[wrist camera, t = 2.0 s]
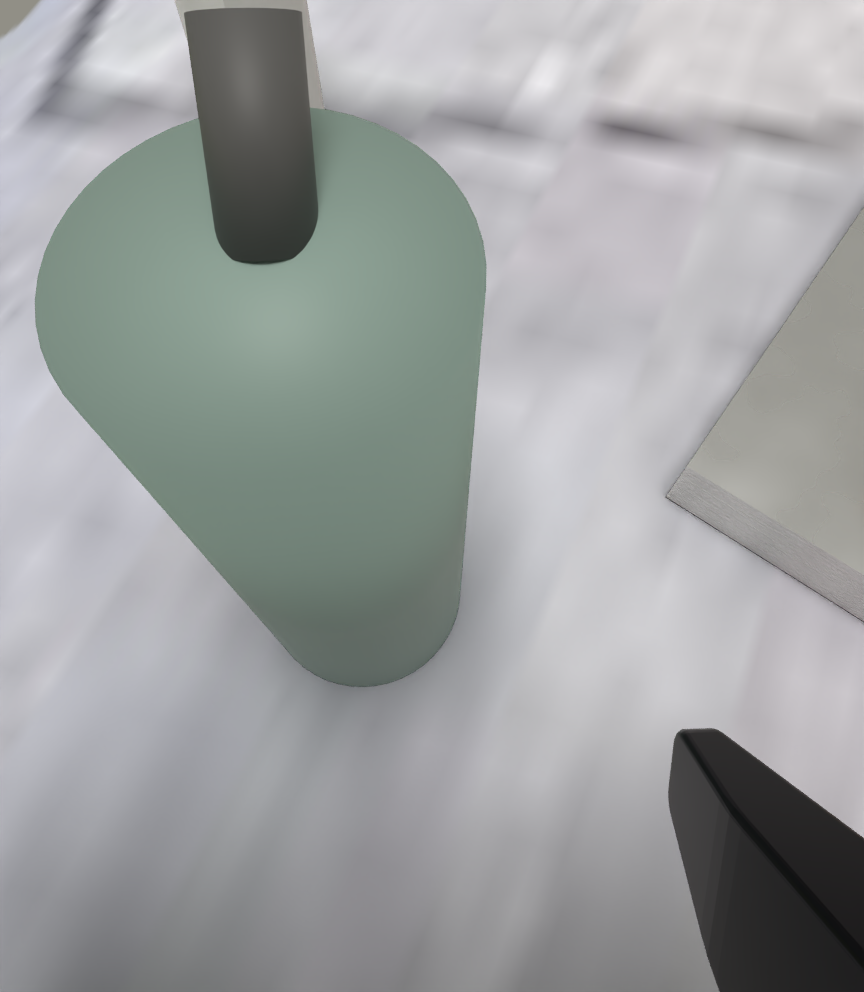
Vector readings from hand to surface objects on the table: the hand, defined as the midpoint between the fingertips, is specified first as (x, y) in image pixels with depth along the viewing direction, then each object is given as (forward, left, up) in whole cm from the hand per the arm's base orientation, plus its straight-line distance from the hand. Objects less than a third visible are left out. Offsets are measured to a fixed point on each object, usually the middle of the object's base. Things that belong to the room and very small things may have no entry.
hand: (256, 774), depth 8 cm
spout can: (+3, -4, -11) cm, 12 cm away
